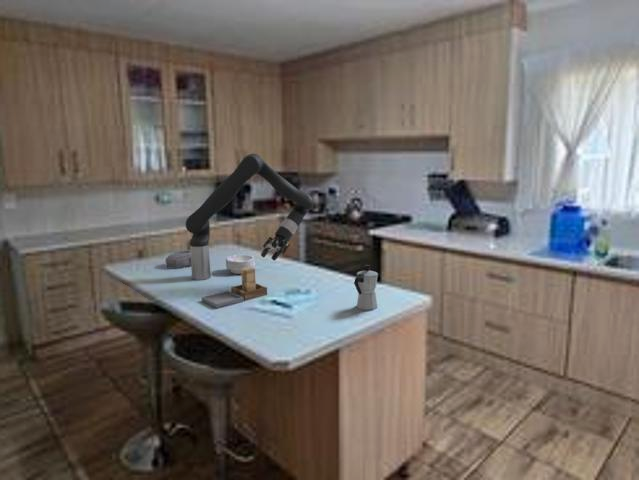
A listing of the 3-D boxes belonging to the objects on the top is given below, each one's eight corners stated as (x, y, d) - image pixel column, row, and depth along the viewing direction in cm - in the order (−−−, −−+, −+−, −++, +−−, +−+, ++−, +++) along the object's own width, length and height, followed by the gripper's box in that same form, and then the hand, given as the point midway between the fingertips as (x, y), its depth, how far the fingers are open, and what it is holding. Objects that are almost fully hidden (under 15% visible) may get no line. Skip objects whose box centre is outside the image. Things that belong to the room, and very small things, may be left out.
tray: (202, 301, 197) (201, 296, 196) (228, 294, 205) (228, 290, 205) (216, 308, 187) (216, 304, 187) (243, 301, 196) (243, 297, 195)
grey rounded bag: (193, 260, 271) (161, 266, 258) (192, 246, 269) (160, 252, 256) (205, 264, 260) (173, 271, 247) (205, 250, 258) (171, 256, 245)
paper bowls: (252, 275, 236) (251, 260, 234) (223, 275, 236) (222, 261, 235) (257, 268, 251) (256, 254, 249) (229, 268, 251) (229, 254, 250)
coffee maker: (366, 300, 195) (366, 260, 191) (384, 305, 190) (384, 263, 186) (346, 310, 184) (346, 267, 180) (364, 315, 178) (364, 271, 175)
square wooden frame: (231, 294, 205) (231, 287, 205) (253, 289, 213) (252, 282, 212) (245, 300, 197) (244, 292, 196) (267, 294, 204) (266, 287, 204)
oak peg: (242, 294, 205) (241, 269, 203) (250, 292, 208) (249, 267, 206) (247, 296, 202) (246, 271, 199) (256, 294, 205) (255, 269, 202)
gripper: (273, 223, 217) (253, 250, 212) (291, 227, 206) (271, 255, 201) (282, 233, 221) (263, 259, 216) (300, 237, 211) (281, 265, 206)
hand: (267, 257), depth 209 cm, fingers open, 8 cm apart
